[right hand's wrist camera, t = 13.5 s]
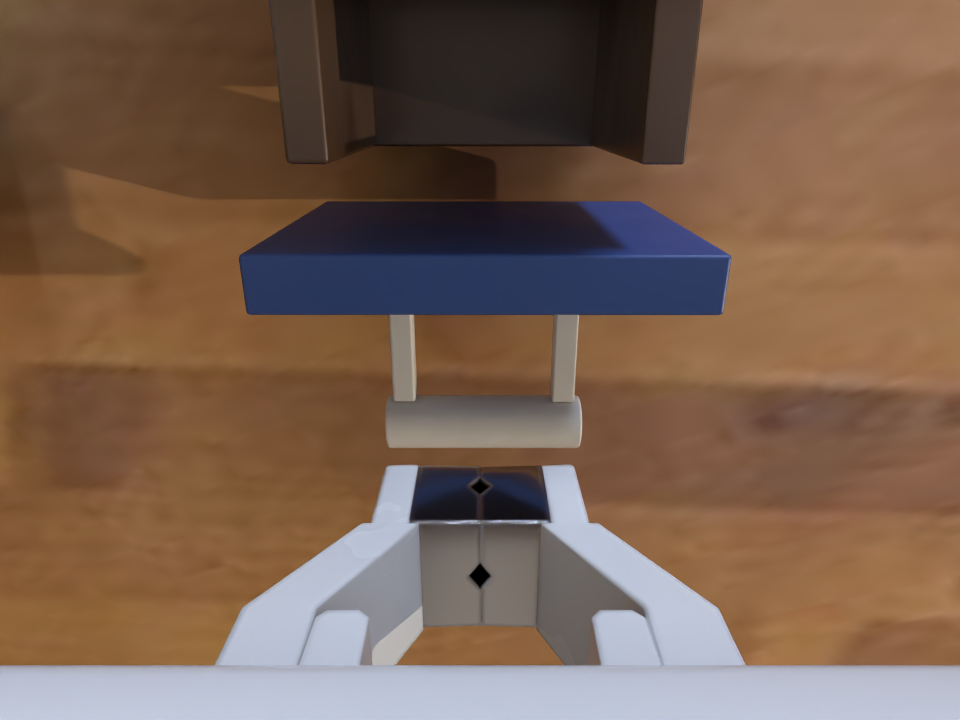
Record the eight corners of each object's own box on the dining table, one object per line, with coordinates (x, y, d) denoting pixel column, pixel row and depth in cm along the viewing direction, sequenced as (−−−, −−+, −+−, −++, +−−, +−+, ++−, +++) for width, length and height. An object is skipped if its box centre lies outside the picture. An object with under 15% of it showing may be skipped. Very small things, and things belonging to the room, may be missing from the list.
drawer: (623, 396, 21) (691, 535, 14) (342, 396, 21) (276, 534, 14) (687, -295, 15) (867, -646, 8) (281, -295, 15) (107, -644, 8)
